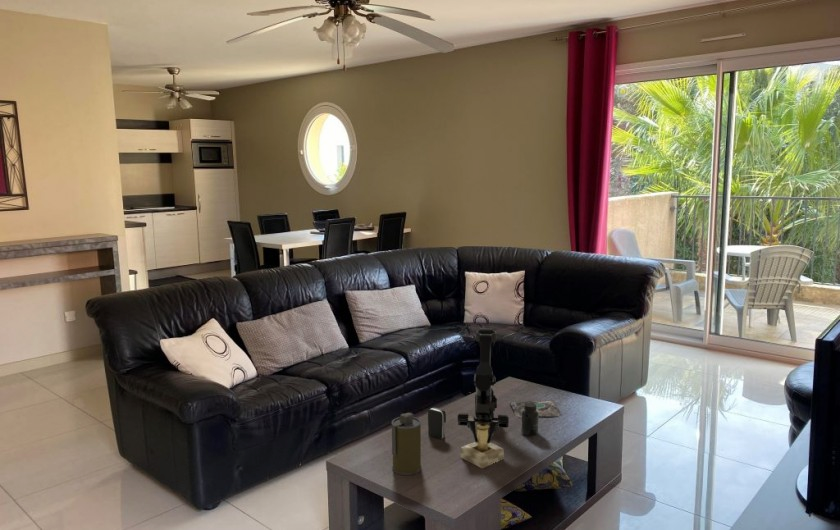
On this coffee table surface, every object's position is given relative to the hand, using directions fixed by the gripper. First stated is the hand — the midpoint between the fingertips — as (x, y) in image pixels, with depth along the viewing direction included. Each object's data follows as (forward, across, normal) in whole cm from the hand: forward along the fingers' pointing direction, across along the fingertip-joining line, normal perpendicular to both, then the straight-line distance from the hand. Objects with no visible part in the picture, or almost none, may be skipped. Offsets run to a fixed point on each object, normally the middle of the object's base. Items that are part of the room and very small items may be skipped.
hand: (482, 442), depth 222 cm
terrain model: (-29, +22, +40) cm, 54 cm away
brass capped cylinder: (+4, 0, +6) cm, 7 cm away
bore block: (+4, 0, +6) cm, 7 cm away
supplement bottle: (-13, +18, +23) cm, 32 cm away
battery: (-8, -18, +18) cm, 27 cm away
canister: (+12, -27, -2) cm, 29 cm away
